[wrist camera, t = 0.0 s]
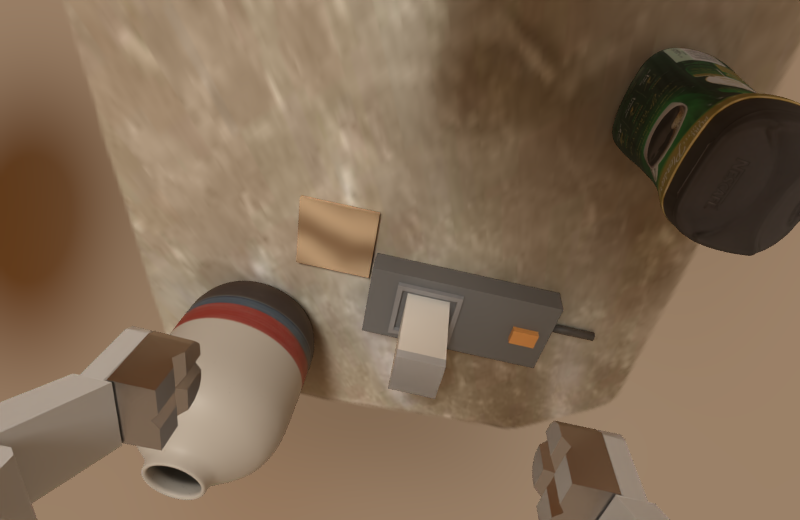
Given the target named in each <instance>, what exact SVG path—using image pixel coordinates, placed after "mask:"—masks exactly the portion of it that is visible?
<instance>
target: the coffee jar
mask: <svg viewBox="0 0 800 520" xmlns="http://www.w3.org/2000/svg"><path fill="white" fill-rule="evenodd" d="M612 134H613V139H614V142H615V143H616V145H617V146H618V147H619V149H620V150H621V151H622V152H623V153H624V154H625V155H626V156H627V157H628V158H629V159H630V160H631V161H633V162H634V163H635V164H636V165H637V166H638V167H639V168H640V169H641V170H642V171H643V172H644V173H645V174H646V175H647V176H648V177H649V178H650V179H651V180H652V181H653V182H654V184H655V186H656V187H657V190H658V194H659V200H660V205H661V208H662V210H663V213H664V215H665V217H666V218H667V219H668V220H669V221H670V222H671V223H672V224H673V225H674V226H675V227H676V228H677V229H678V230H679V231H680V232H681V233H682V234H684V235H685V236H687V237H688V238H689V239H691V240H693V241H694V242H696V243H699V244H701V245H704V246H706V247H709V248H713V249H716V250H720V251H724V252H729V253H734V254H740V255H748V256H751V255H754V254H755V253H758V252H761V251H763V250H765V249H767V248H769V247H771V246H772V245H774V244H776V243H777V242H778V241H780V240H781V239H782V238H784V237H785V236H786V235H787V234H788V233H789V232H790V231H791V230H792V229H793V228H794V226H795V225H796V224H797V223H798V222H799V221H800V103H798V102H795V101H793V100H790V99H787V98H784V97H780V96H775V95H769V94H759V93H756V92H755V91H754V90H753V89H752V88H750V87H749V86H748V85H747V84H746V83H745V82H744V81H743V80H742V79H741V78H740V77H739V76H738V75H737V74H736V73H735V72H734V71H733V70H732V69H730V68H729V67H728V66H727V65H726V64H724V63H723V62H721V61H720V60H718V59H716V58H714V57H712V56H710V55H708V54H705V53H703V52H699V51H696V50H691V49H684V48H670V49H665V50H662V51H660V52H658V53H656V54H654V55H653V56H652V57H650V58H649V59H648V60H647V61H646V62H645V63H644V64H643V66H642V67H641V68H640V70H639V71H638V73H637V74H636V76H635V78H634V80H633V81H632V83H631V85H630V86H629V88H628V90H627V92H626V94H625V96H624V98H623V100H622V103H621V105H620V107H619V110H618V112H617V115H616V118H615V121H614V124H613V130H612Z"/></svg>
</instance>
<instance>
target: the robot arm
mask: <svg viewBox="0 0 800 520" xmlns="http://www.w3.org/2000/svg"><path fill="white" fill-rule="evenodd" d="M200 355H201V353H200V344H199V343H198V342H196V341H193V340H189V339H185V338H181V337H177V336H173V335H169V334H165V333H161V332H156V331H151V330H146V329H143V328H139V327H135V326H132V327H130V328H127V329H125V330H124V331H123V332H122V333H121V334H120V335H119V336H118V337H117V338H116V339H115V340H114V341H113V342H112V343H111V344H110V345H109V346H108V347H107V348H106V349H105V350H104V351H103V352H102V353H101V354H100V355H99V356H98V357H97V358H96V359H95V360H94V361H93V362H92V363H91V364H90V365H89V366H88V367H87V368H86V369H85V370H84V371H83V372H82V373H81V374H80V375H77V374H71V375H68V376H66V377H63V378H61V379H58V380H56V381H53V382H51V383H48V384H45V385H43V386H40V387H38V388H35V389H33V390H30V391H28V392H25V393H23V394H20V395H18V396H15V397H13V398H10V399H7V400H5V401H2V402H0V520H37V518H36V515H35V512H34V509H33V507H32V503H33V502H35V501H36V500H38V499H40V498H41V497H43V496H44V495H46V494H47V493H49V492H50V491H52V490H54V489H55V488H57V487H58V486H60V485H61V484H63V483H64V482H66V481H67V480H69V479H71V478H72V477H73V476H75V475H77V474H78V473H80V472H81V471H83V470H85V469H86V468H88V467H89V466H91V465H92V464H94V463H95V462H97V461H98V460H100V459H102V458H103V457H105V456H106V455H108V454H109V453H111V452H113V451H114V450H116V449H117V448H119V447H120V446H122V443H125V444H131V445H135V446H140V447H145V448H151V449H156V450H161V451H162V449H163V448H164V446H165V445H166V443H167V442H168V440H169V439H170V437H171V436H172V434H173V433H174V431H175V430H176V428H177V427H178V419H177V416H178V415H180V414H182V413H183V412H185V411H187V410H189V408H190V406H191V405H192V403H193V402H194V400H195V398H196V395H197V392H198V390H199V387H200V382H201V369H200V367H199V366H198V365H197V363H196V361H197V359H198V358H199V356H200ZM546 434H547V439H548V441H546V442H544V443H542V444H540V445H539V447H538V449H537V451H536V453H535V457H534V462H533V484H534V488H535V489H536V491H537V492H538V493H539V494H540V496H541V499H540V501H539V503H538V505H537V512H538V518H539V520H670V519H669V518H668V517H667V516H666V515H665V514H664V513H663V511H662V510H661V509H660V508H658V506H657V505H656V504H654V503H650V502H648V500H647V497H646V495H645V492H644V489H643V487H642V484H641V481H640V479H639V476H638V473H637V471H636V468H635V465H634V463H633V460H632V457H631V454H630V452H629V449H628V446H627V444H626V441H625V439H624V438H623V437H622V435H620V434H615V433H610V432H606V431H601V430H596V429H591V428H586V427H581V426H577V425H572V424H567V423H563V422H558V421H553V422H552V423H551V424H550V425H549V427H548V429H547V431H546Z"/></svg>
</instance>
